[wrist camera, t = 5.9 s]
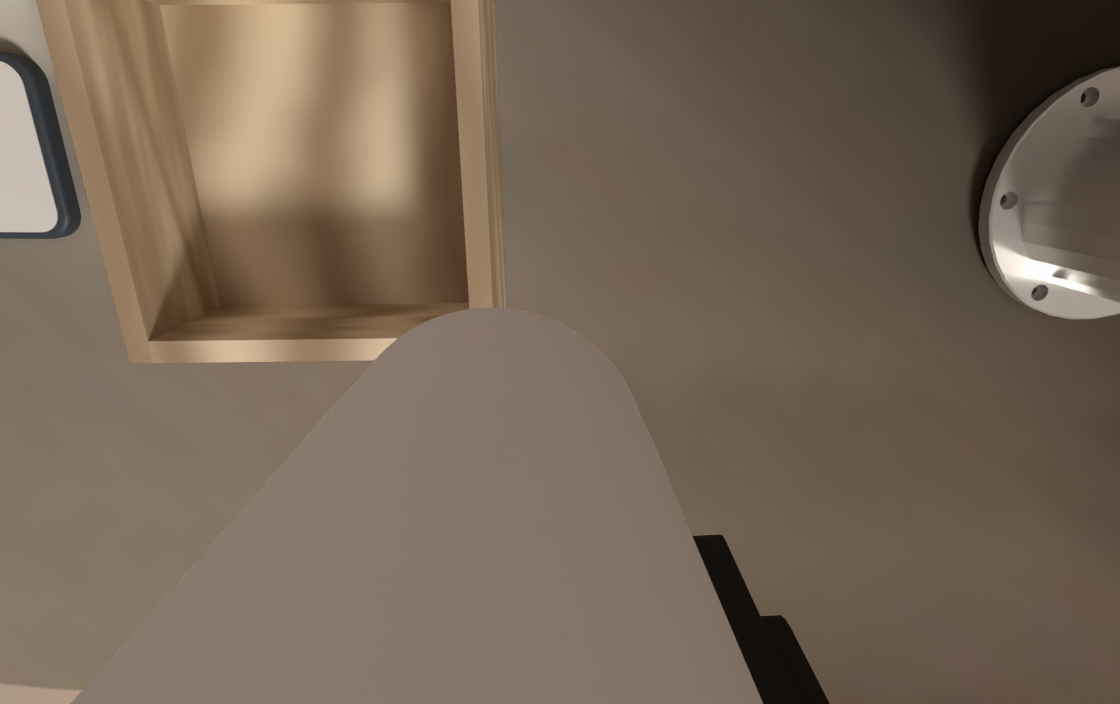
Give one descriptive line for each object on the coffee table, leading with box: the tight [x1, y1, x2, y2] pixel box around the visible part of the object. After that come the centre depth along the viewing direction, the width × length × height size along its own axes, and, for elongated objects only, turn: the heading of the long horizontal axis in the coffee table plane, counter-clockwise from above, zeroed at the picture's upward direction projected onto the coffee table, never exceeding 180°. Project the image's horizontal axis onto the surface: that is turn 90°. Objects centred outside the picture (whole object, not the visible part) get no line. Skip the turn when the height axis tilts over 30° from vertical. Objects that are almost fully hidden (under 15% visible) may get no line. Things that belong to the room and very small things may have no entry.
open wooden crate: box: [36, 0, 506, 363], centre depth 27 cm, size 16×16×7 cm
